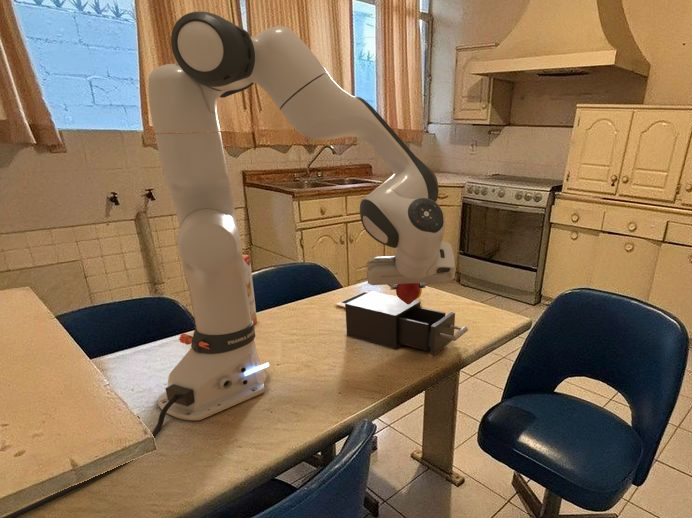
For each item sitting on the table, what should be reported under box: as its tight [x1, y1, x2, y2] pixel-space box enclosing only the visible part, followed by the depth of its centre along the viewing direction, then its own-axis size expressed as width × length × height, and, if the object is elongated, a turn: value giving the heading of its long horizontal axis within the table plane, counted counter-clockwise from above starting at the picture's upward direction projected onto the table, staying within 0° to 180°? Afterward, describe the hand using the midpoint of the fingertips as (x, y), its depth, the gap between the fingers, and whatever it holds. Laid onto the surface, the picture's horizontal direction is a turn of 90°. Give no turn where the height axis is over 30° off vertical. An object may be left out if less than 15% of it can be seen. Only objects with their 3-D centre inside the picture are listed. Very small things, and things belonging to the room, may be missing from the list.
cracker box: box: [242, 254, 258, 326], centre depth 126 cm, size 14×6×21 cm, turn 179°
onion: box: [395, 283, 420, 304], centre depth 110 cm, size 6×6×8 cm
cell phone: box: [335, 290, 370, 309], centre depth 154 cm, size 8×16×1 cm, turn 148°
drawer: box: [397, 306, 469, 356], centre depth 121 cm, size 20×11×8 cm, turn 60°
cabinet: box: [344, 290, 421, 350], centre depth 128 cm, size 17×13×10 cm
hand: (407, 286), depth 111 cm, fingers closed on onion, 6 cm apart
